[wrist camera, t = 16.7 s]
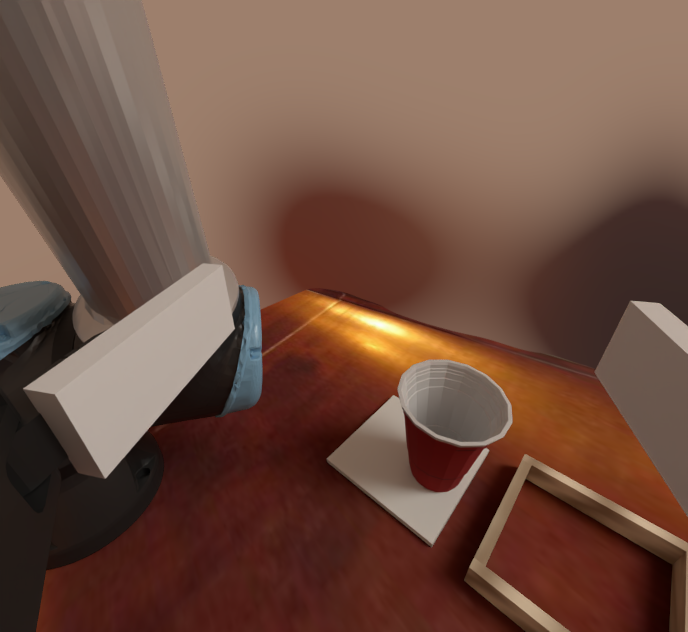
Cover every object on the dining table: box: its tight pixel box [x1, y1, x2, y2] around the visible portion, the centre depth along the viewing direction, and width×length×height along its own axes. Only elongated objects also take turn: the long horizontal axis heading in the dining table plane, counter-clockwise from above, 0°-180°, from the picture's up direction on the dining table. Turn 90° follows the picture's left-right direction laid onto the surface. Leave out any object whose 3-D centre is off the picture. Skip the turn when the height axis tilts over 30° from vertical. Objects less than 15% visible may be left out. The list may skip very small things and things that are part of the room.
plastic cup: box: [398, 360, 512, 492], centre depth 36 cm, size 11×11×12 cm
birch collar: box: [464, 454, 688, 632], centre depth 30 cm, size 15×15×2 cm
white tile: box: [327, 395, 489, 547], centre depth 41 cm, size 14×14×1 cm
